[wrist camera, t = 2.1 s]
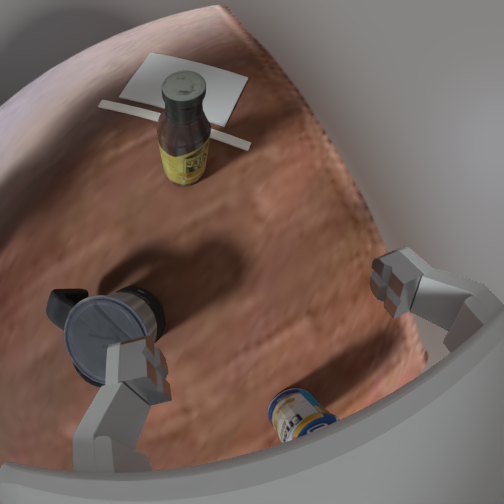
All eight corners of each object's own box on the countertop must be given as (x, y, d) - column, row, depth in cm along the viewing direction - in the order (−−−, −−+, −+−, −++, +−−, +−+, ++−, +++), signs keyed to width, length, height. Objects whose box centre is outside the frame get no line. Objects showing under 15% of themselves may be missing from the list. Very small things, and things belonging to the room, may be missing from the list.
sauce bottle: (192, 195, 39) (192, 128, 20) (157, 177, 39) (131, 103, 19) (213, 159, 40) (230, 77, 21) (178, 143, 40) (172, 56, 20)
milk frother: (167, 289, 38) (150, 299, 23) (166, 390, 36) (156, 444, 22) (78, 280, 35) (26, 283, 21) (82, 378, 34) (41, 418, 19)
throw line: (98, 107, 37) (97, 106, 37) (102, 100, 37) (102, 99, 37) (247, 151, 42) (248, 150, 41) (250, 143, 42) (251, 142, 42)
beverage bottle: (309, 426, 40) (367, 492, 21) (262, 429, 39) (304, 507, 19) (318, 385, 41) (389, 441, 22) (270, 386, 40) (323, 456, 20)
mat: (119, 98, 38) (118, 96, 38) (151, 53, 40) (151, 52, 39) (224, 127, 41) (224, 126, 41) (248, 79, 43) (248, 77, 42)
